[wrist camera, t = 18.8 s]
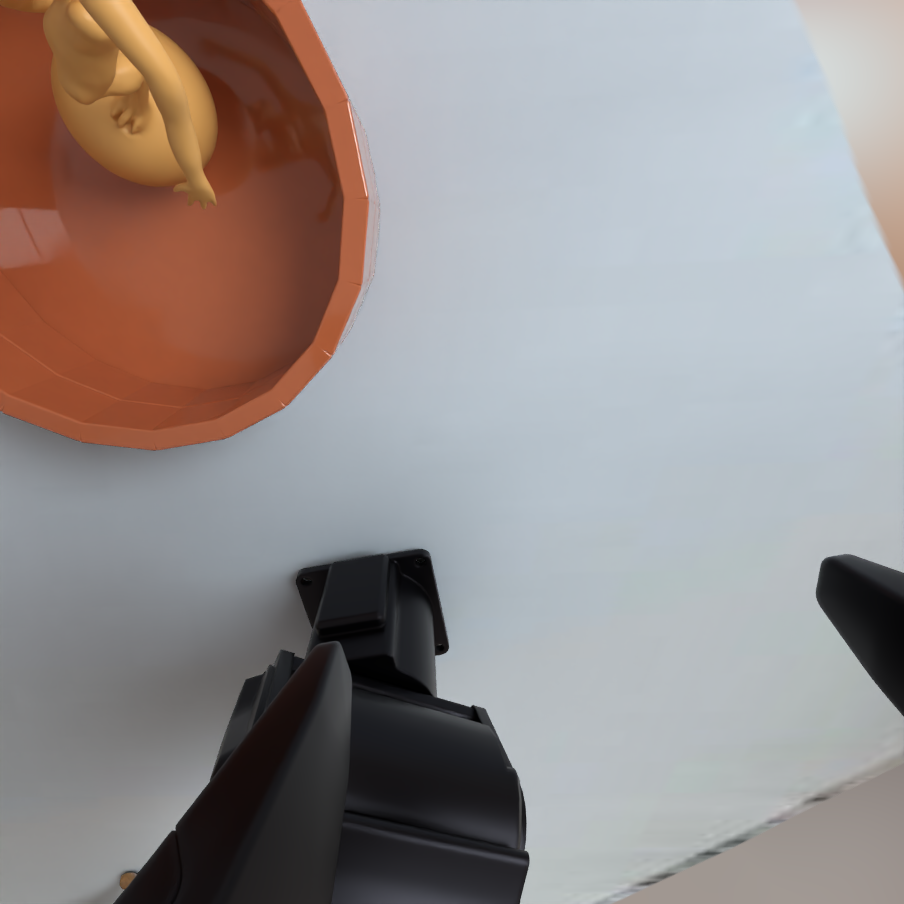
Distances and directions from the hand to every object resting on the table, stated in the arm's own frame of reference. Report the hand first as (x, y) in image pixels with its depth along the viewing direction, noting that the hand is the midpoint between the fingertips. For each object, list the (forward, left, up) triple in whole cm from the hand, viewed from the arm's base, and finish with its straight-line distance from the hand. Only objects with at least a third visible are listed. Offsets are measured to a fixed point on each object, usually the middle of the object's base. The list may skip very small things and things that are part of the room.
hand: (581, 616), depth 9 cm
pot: (+9, +10, -13) cm, 19 cm away
